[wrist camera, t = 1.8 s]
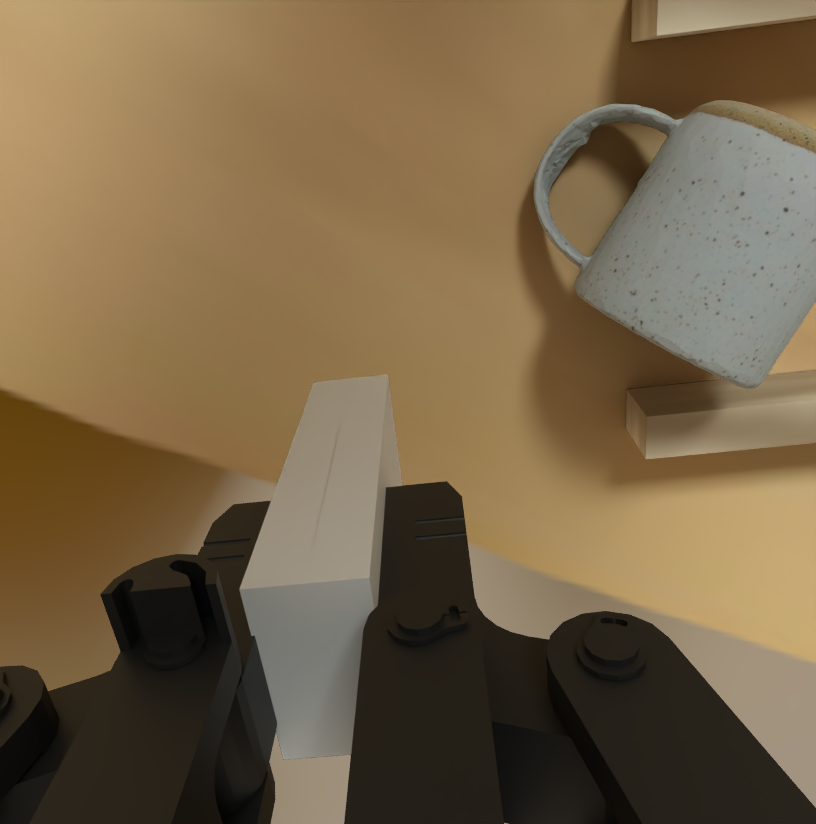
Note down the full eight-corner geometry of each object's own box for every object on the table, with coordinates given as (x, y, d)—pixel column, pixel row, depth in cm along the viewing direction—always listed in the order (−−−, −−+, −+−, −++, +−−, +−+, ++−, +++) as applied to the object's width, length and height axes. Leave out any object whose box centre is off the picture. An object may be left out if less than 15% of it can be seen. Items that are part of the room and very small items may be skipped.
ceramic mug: (822, 173, 28) (957, 195, 21) (704, 350, 31) (787, 421, 24) (592, 48, 26) (653, 26, 19) (491, 247, 29) (512, 291, 22)
